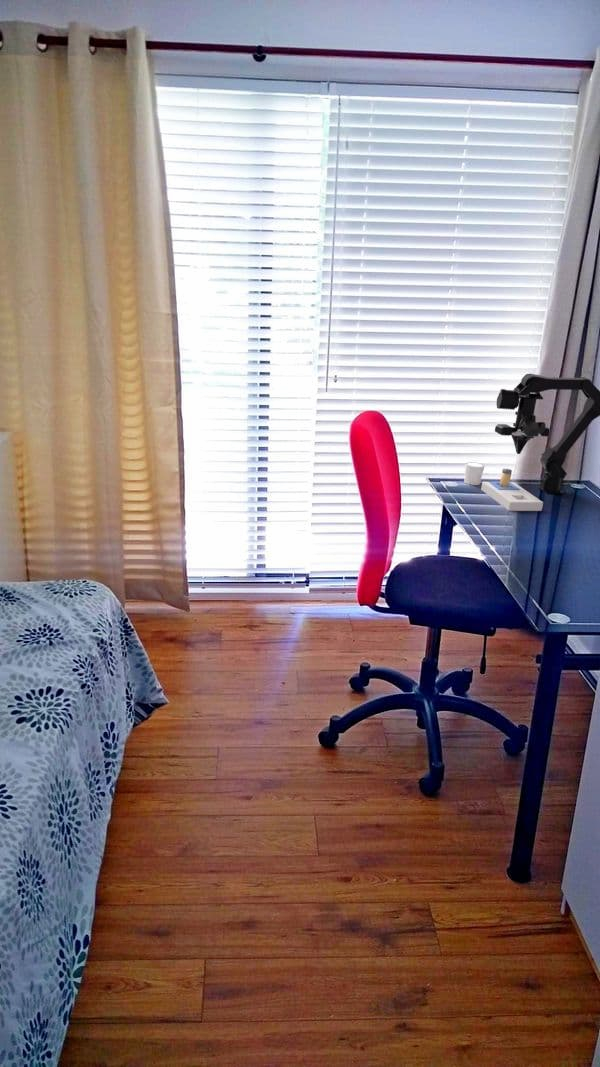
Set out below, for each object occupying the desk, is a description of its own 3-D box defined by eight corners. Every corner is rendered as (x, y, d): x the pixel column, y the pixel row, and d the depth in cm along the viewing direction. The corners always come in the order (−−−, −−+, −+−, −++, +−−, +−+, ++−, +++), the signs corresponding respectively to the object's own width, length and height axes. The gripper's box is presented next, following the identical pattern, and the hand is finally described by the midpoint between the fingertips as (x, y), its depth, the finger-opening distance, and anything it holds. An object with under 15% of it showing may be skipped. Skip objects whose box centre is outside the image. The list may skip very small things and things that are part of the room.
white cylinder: (458, 480, 287) (461, 462, 285) (473, 479, 290) (476, 461, 288) (470, 486, 282) (473, 467, 279) (485, 485, 284) (488, 466, 282)
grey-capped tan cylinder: (504, 492, 277) (509, 468, 274) (508, 495, 274) (513, 471, 271) (496, 492, 277) (501, 468, 273) (500, 495, 274) (505, 471, 270)
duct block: (511, 489, 281) (513, 481, 280) (541, 510, 261) (543, 501, 260) (481, 489, 279) (482, 480, 277) (508, 510, 259) (510, 501, 258)
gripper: (512, 415, 264) (504, 459, 269) (561, 416, 268) (553, 460, 273) (497, 408, 274) (490, 450, 279) (545, 409, 278) (537, 451, 283)
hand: (518, 453), depth 279 cm, fingers closed
